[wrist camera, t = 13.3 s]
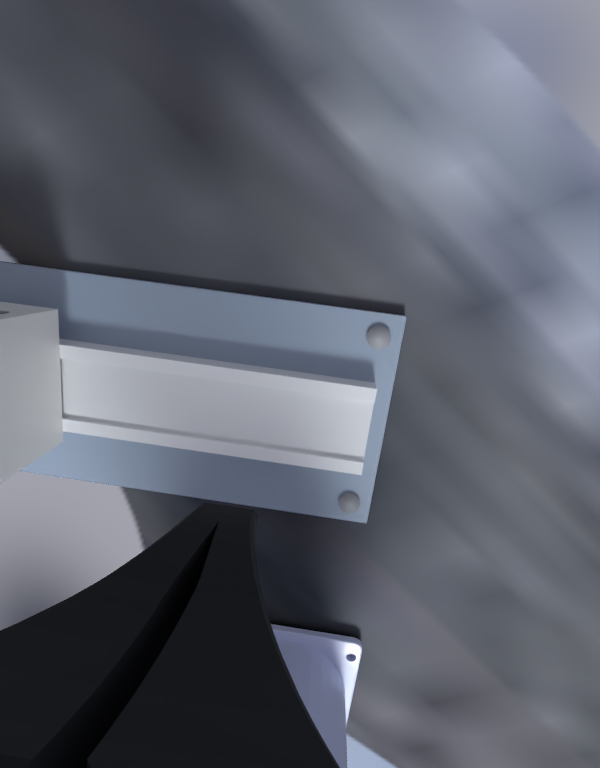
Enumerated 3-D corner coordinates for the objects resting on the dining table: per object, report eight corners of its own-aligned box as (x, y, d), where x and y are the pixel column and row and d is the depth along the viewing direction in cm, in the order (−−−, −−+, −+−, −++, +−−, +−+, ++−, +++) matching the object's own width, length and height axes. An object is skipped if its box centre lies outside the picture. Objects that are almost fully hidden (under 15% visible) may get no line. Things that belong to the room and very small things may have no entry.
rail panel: (366, 518, 21) (370, 559, 19) (-85, 450, 22) (-147, 479, 19) (405, 315, 19) (418, 325, 16) (-113, 246, 19) (-190, 244, 17)
